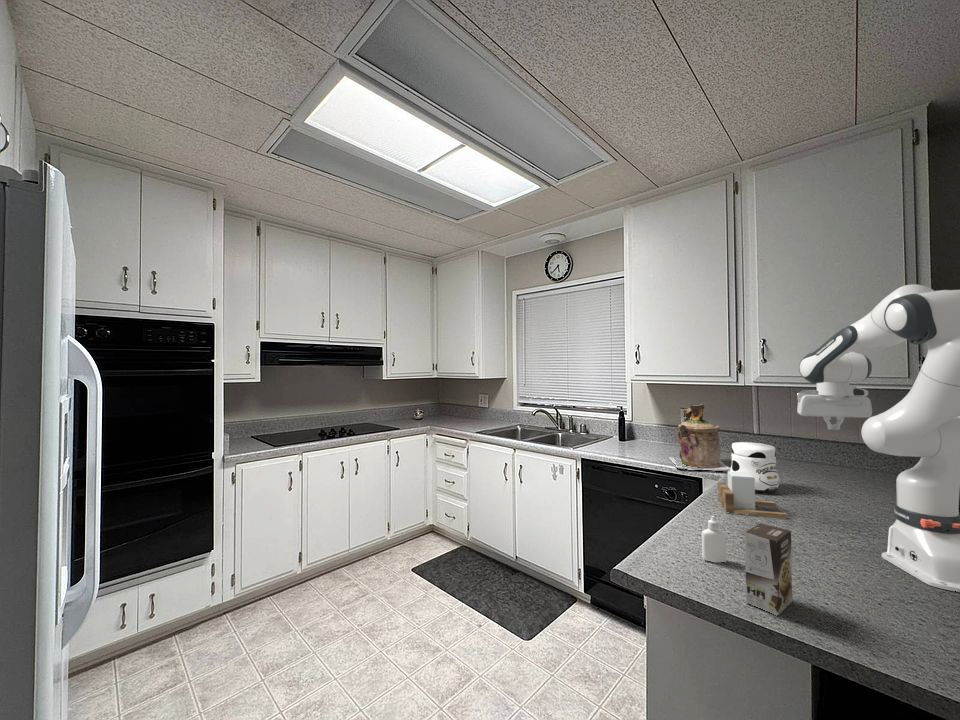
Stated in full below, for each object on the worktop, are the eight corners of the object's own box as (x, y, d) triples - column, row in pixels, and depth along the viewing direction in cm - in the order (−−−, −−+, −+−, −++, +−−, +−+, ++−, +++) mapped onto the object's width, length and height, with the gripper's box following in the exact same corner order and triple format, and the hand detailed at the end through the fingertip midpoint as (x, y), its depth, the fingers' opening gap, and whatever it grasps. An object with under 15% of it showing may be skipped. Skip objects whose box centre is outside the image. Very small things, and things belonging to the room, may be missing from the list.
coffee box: (778, 617, 87) (776, 541, 87) (744, 603, 92) (743, 531, 92) (794, 602, 92) (792, 530, 92) (761, 589, 97) (759, 521, 97)
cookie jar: (718, 461, 218) (717, 401, 218) (734, 474, 194) (732, 406, 194) (668, 459, 224) (666, 401, 224) (677, 471, 200) (675, 405, 200)
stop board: (734, 514, 144) (733, 494, 144) (725, 513, 145) (725, 493, 145) (726, 501, 156) (725, 483, 157) (718, 501, 157) (718, 483, 157)
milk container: (779, 498, 160) (778, 451, 160) (727, 490, 170) (726, 446, 170) (780, 486, 173) (779, 444, 173) (732, 480, 184) (731, 440, 184)
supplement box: (756, 513, 145) (755, 477, 145) (731, 511, 147) (730, 475, 147) (750, 506, 151) (750, 472, 152) (727, 504, 154) (726, 470, 154)
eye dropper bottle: (704, 554, 115) (703, 511, 115) (727, 560, 112) (726, 516, 112) (700, 560, 112) (699, 516, 112) (724, 566, 108) (723, 521, 108)
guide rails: (787, 519, 139) (787, 514, 139) (726, 513, 145) (726, 509, 145) (775, 506, 151) (774, 502, 151) (719, 501, 157) (719, 497, 157)
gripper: (800, 390, 144) (801, 429, 144) (874, 391, 137) (875, 432, 137) (793, 389, 150) (794, 427, 150) (864, 389, 143) (865, 429, 143)
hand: (833, 429), depth 144 cm, fingers closed
